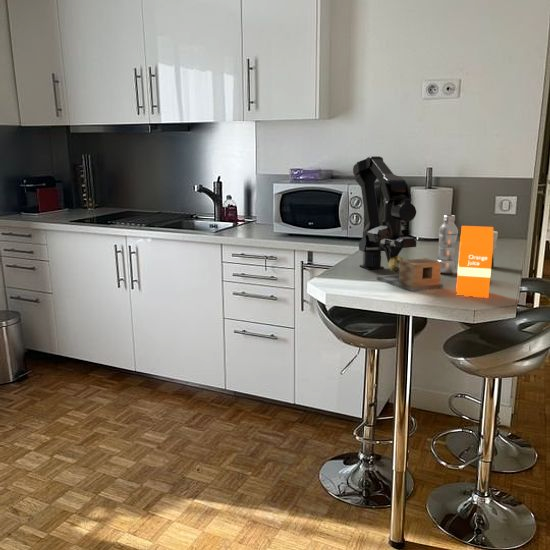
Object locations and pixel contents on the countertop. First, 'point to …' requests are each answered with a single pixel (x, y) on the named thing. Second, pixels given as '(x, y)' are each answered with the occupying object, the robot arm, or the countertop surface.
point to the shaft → (395, 263)
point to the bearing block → (416, 275)
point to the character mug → (494, 244)
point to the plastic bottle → (447, 244)
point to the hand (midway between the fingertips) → (390, 264)
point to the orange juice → (475, 261)
